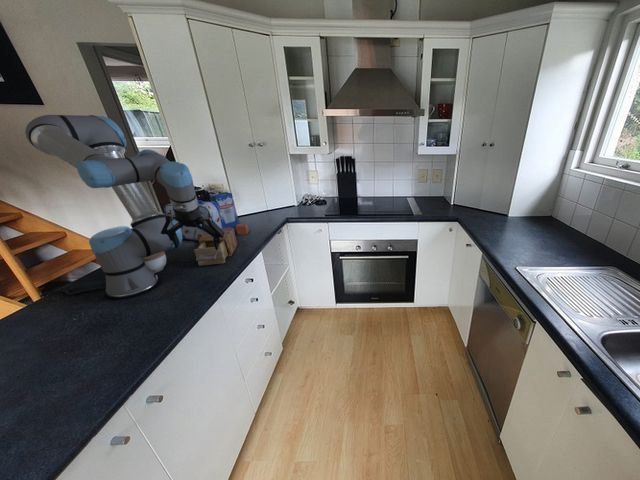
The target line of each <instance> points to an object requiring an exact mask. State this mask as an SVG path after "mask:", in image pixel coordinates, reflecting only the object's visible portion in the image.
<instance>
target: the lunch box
mask: <svg viewBox="0 0 640 480" xmlns="http://www.w3.org/2000/svg"><path fill="white" fill-rule="evenodd" d="M197 201H198V205H199V208H200V212H201V216H202V217H208V216H211V217H212V219H213V221H214V222H215V223H216V224H217V225H218V226H219V227H220V228H224V227H223V223H222V217H223V215H222V213H220V210H219V207H218V206H217V205H216V204H215V203H213V202H211V201H206V200H205V201H203V200H200V199H199V200H197ZM163 210H164V214H165V215H167V213H168V212H170V213H171V214H172V215H175V213H174V210H173V207H172V204H171V203H168V204H166V205H165V206H164V208H163ZM174 220H175V221H176V222H178V221H177V220H176V219H174ZM204 222H205V221H204ZM205 224H206V222H205ZM200 225H201V224H200ZM207 225H208V224H207ZM208 226H209V225H208ZM180 229H181V232H182V240H183V239H184V240H191V241H199V239H200V238H201V237H202V236H203V235H204V233H205V231H203V230H202V229H199V228H197V227H196V228H195V227H186V226H183V227H181V228H180Z"/></svg>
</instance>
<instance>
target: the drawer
mask: <svg viewBox="0 0 640 480" xmlns="http://www.w3.org/2000/svg"><path fill="white" fill-rule="evenodd" d="M193 251H194V255H195V257H196V258H195V260H196V262H197V264H198V266H199V267H200V266H208V265H218V264H219V265H220V264H225V263H226V258H227V257H226V256H227V255H228V249H227V245H226V241H225V240H221V241H220V244H219V247H218V250H216V249H215V245H214V241H203V242H202V243H201V244H200V243H199V246H198V247H197V248H194V249H193Z"/></svg>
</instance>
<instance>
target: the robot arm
mask: <svg viewBox="0 0 640 480" xmlns="http://www.w3.org/2000/svg"><path fill="white" fill-rule="evenodd" d="M24 133H25V137H26V139H27V141H28V142H29V144H30V145H31V146H33V147H34V149H37V150H38V151H40V152H41V153H44V154H46V155H49V156H53V157H57V158H58V159H60V160H62V161H63V162H65V163H67V164H68V165H70V166H71V167H74V168H75V169H76V170H77V173H78V175H79V177H80V179H81V180H82V182H84V183H85V185H86V186H87V187H89V188H91V189H103V188H104V189H105V188H106V189H108V188H109V189H110V188H111V189H112V190H113V192H114V193H115V194H116V196H117V198H118V199H119V201H120V202H121V204H122V206H123V207H124V209H125V210H126V212H127V213H128V215H129V217H130V218H131V219H132V220H131V222H130V226H128V225H127V226H126V225H119V226H116V227H115V226H114V227H109V228H107V229H103V230H100V231H98V232H96V233H95V234H93V235H92V236H91V237H90V238H89V240H88V243H89V246H90V248H91V252H92V254H93V255H94V257H95V258H96V261H97V262H98V265H99V266H100V268H101V270H102V272H103V275H105V285H104V286H97V287H92V288H87V289H83V290H79V291H75V292H74V291H73V292H69V290H66V289H55V290H54V289H52V290H48V291H45V292H43V293H42V294H40V296H39V297H40V298H43V297H45V296H46V295H47V294H48V295H49V294H53V293H55V292H54V291H57V290H59V291H57V292H56V293H65V294H66V295H68V296H73V295H79V294H84V293H87V292H92V291H97V290H103V289H105V293H106V295H107V297H108V298H110V299H114V300H115V299H116V300H119V299H121V300H122V299H128V298H133V297H136V296H140V295H143V294H145V293H147V292H149V291H151V290H152V289H154V288H155V287H156V286H157V285H158V284H159V283H160V280H159V277H158V275H157V274H155V273H153V272H152V271H151V270H150V269H149V268H148V267H147V266H146V264H145V262H144V259H143V258H145V257H148V256H151V255H154V254H157V253H160V252H163V251H164V252H165V251H170V250H172V249H174V248H175V249H179V247H180V245H181V244H182V242H183V239H182V232H181V229H180V228H181V227H183V226H186V227H195V228H196V227H197V228H199V229H202V230H203V231H205V232H206V233H208V234H209V235H211V236H213V237H214V238H213V241H214V245H215V249H216V250H218V247H219V244H220V241H221V240H220V238H223V237H224V231H223V230H222V229H221V228H220V227H219V226H218V225H217V224H216V223H215V222H214V221H213V219H212V217H211V216H208V217H202V216H201V212H200V208H199V205H198V201H199V200H198V198H197V197H198V196H197V193H196V190H195V189H196V188H195V184H194V181H193V176H192V174H191V171H190V169H189V167H188V166H187V165H186V164H185V163H181V162H179V161H170V160H169V159H168V158H167V157H165V156H164V155H163V154H162V153H161V154H160V153H159V152H158V151H156V150H154V149H142V150H141V151H139V152H137V153H136V155H135V156H126V157H125V153H126V149H125V148H126V147H127V139H126V137H125V134H124V132H123V130H122V129H121V128H120V126H119V125H118V124H117V123H116V122H115V121H114V120H113V119H111V118H109V117H107V116H104V115H95V114H89V115H78V114H77V115H76V114H75V115H73V114H45V115H41V116H38V117H35V118H33V119H32V120H30V121H29V122H28V123H27V124H26V127H25V132H24ZM151 181H155V182H157V183H159V184H160V185H161V186H162V187H164V188H165V191H166V193H167V196H168V199H169V201H170V204H172V207H173V210H174V213H175V215H172V214H171V213H170V212H168V213H167V215H166V214H165V213H163V212H160V211H158V209H157V207H156V206H155V204H154V202H153V200H152V199H151V198H150V196H149V194H148V192H147V190H146V189H145V188H144V186H143V185H142V183H145V182H151ZM174 219H176V220H177V221H178V222H176V221H175V220H174ZM204 221H205V222H206V224H205V222H204ZM200 224H201V225H200ZM207 224H208V225H209V226H208V225H207ZM130 227H131V228H130ZM60 290H61V291H60Z"/></svg>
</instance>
